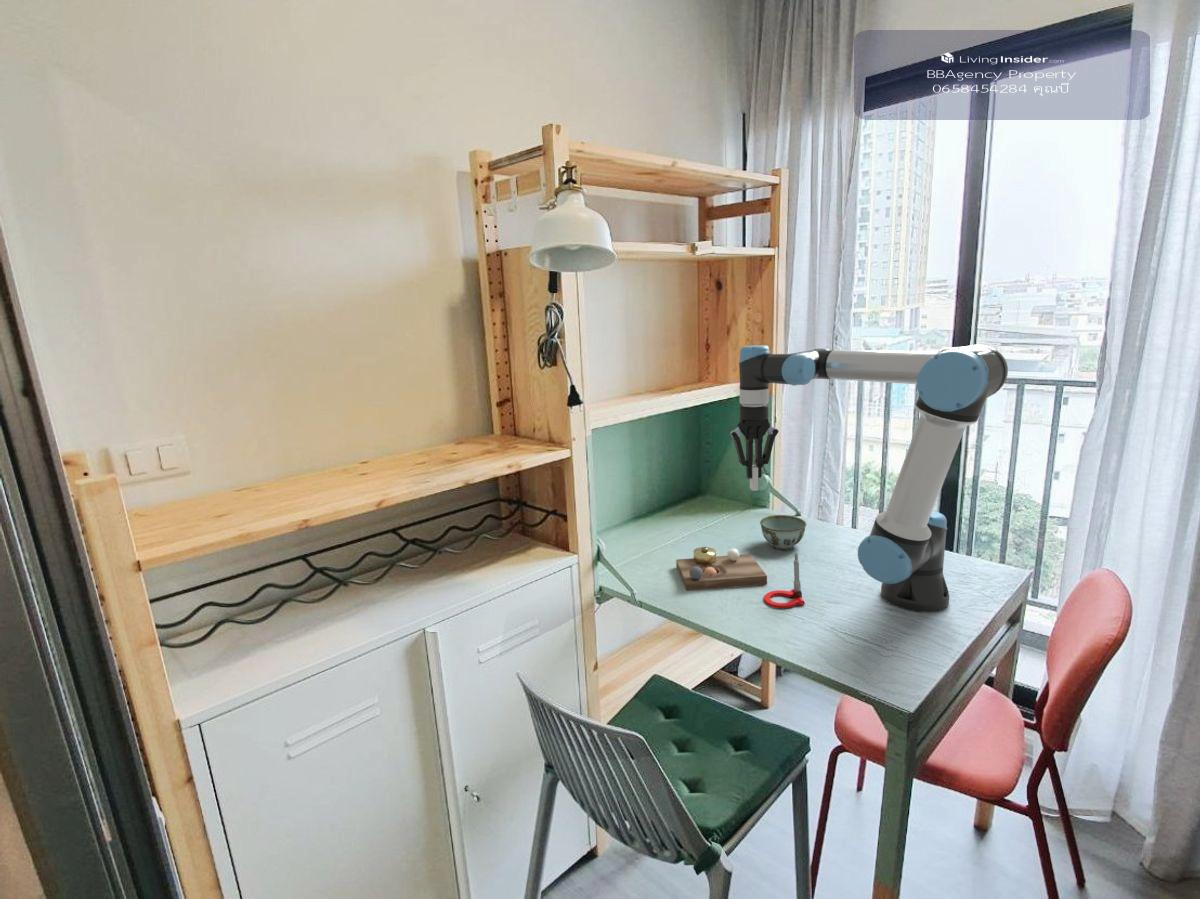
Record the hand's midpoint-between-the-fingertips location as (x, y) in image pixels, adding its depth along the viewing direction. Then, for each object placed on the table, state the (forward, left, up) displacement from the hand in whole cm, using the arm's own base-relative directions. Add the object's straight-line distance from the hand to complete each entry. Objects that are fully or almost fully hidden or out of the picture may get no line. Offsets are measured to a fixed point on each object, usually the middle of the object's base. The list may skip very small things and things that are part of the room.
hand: (753, 489), depth 166 cm
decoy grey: (-7, +18, -20) cm, 28 cm away
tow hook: (-18, -2, -25) cm, 31 cm away
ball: (-3, +13, -23) cm, 26 cm away
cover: (+4, +13, -22) cm, 26 cm away
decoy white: (+3, +5, -20) cm, 21 cm away
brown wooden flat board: (-1, +10, -24) cm, 26 cm away
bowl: (+16, -14, -25) cm, 33 cm away
